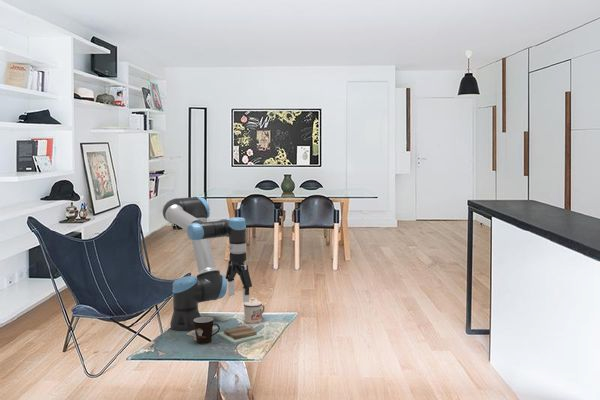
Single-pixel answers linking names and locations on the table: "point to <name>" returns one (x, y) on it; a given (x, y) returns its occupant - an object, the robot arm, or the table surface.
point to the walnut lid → (240, 332)
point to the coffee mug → (204, 329)
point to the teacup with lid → (253, 311)
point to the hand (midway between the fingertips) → (238, 298)
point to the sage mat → (240, 339)
